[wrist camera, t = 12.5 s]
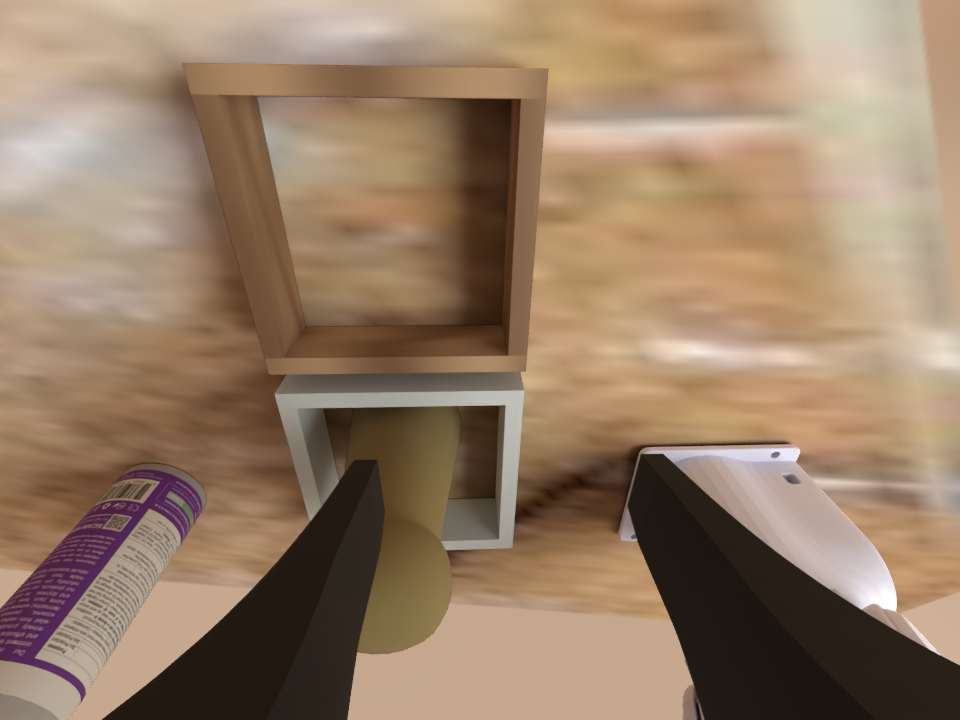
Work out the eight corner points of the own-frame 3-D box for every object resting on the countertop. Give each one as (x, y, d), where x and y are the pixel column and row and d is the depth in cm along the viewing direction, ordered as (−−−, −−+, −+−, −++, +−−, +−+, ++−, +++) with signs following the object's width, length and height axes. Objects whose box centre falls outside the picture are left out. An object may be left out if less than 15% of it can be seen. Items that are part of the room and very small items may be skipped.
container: (113, 502, 26) (-227, 893, 13) (130, 451, 24) (-251, 850, 11) (195, 527, 27) (-40, 904, 15) (216, 481, 26) (-33, 867, 13)
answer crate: (516, 356, 22) (524, 390, 19) (507, 506, 28) (512, 548, 25) (296, 359, 22) (274, 394, 19) (332, 511, 27) (318, 553, 25)
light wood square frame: (534, 74, 16) (548, 68, 13) (517, 339, 22) (525, 371, 19) (227, 69, 16) (181, 62, 13) (292, 341, 21) (268, 374, 19)
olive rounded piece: (336, 387, 23) (248, 592, 13) (451, 371, 22) (445, 567, 13) (368, 471, 26) (315, 686, 16) (469, 457, 25) (475, 667, 16)
